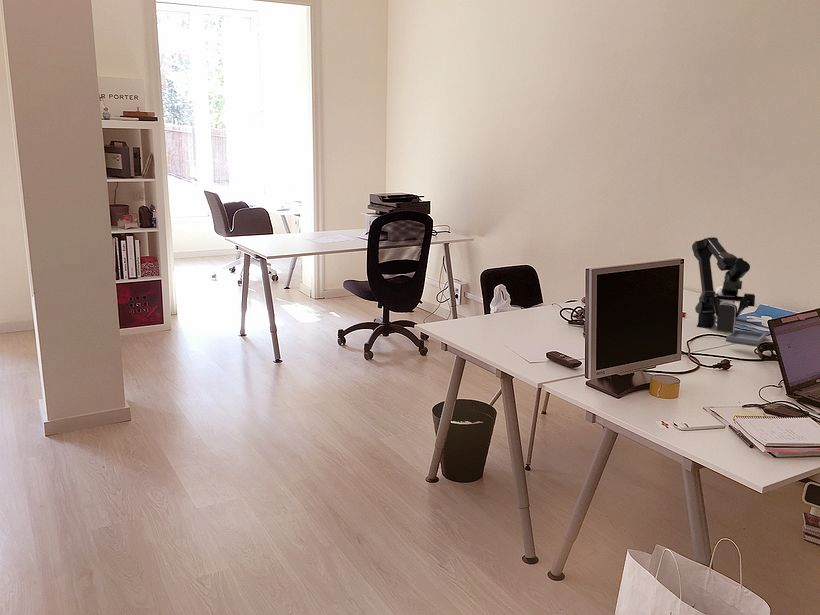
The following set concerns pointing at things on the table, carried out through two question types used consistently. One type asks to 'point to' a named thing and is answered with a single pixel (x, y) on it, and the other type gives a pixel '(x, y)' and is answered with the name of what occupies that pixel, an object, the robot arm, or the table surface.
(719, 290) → the supplement can
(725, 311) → the battery
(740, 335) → the tray
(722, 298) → the robot arm
